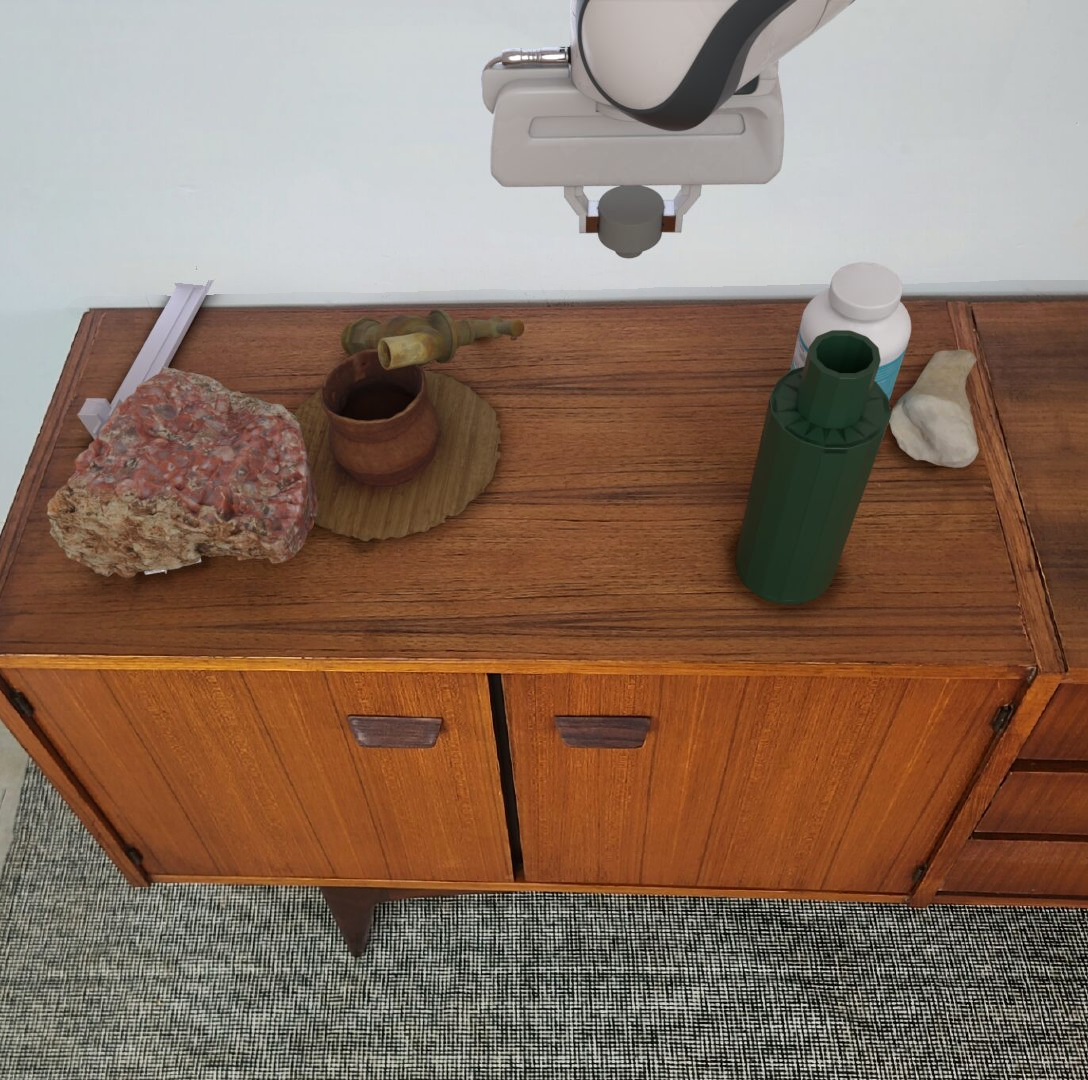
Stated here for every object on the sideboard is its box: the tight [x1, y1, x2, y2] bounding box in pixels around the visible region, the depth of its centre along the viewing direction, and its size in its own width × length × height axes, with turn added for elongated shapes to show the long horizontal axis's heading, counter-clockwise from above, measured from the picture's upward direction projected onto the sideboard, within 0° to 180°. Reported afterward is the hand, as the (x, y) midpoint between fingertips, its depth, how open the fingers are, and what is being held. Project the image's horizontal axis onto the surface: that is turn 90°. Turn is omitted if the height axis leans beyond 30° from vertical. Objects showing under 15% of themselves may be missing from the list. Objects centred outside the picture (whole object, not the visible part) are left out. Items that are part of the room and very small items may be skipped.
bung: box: [597, 185, 664, 259], centre depth 80 cm, size 5×5×4 cm
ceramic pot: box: [294, 349, 502, 542], centre depth 81 cm, size 18×18×7 cm
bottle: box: [735, 330, 892, 606], centre depth 68 cm, size 7×7×20 cm
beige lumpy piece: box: [888, 348, 980, 469], centre depth 81 cm, size 11×6×5 cm, turn 167°
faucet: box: [340, 308, 525, 370], centre depth 85 cm, size 15×4×15 cm
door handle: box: [76, 266, 215, 441], centre depth 90 cm, size 21×3×3 cm
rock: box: [46, 366, 318, 579], centre depth 77 cm, size 17×10×15 cm
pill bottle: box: [789, 261, 912, 400], centre depth 77 cm, size 8×7×14 cm
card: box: [143, 557, 202, 576], centre depth 80 cm, size 9×3×1 cm, turn 111°
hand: (630, 228), depth 80 cm, fingers closed on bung, 5 cm apart
